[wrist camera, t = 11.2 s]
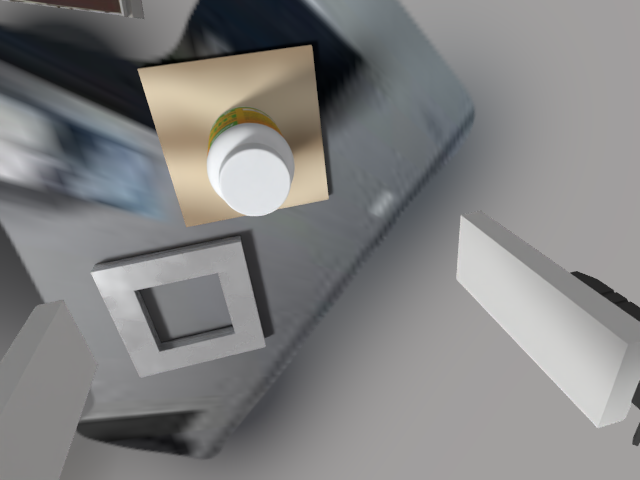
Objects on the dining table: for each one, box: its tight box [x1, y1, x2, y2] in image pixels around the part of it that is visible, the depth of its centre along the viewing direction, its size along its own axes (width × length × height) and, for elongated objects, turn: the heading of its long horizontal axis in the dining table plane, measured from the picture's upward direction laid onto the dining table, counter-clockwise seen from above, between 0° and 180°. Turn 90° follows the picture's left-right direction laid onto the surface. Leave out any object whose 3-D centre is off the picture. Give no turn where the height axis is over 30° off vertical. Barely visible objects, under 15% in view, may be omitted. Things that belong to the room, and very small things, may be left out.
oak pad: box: [138, 45, 329, 227], centre depth 31 cm, size 12×12×1 cm
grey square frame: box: [91, 235, 266, 378], centre depth 36 cm, size 12×12×1 cm
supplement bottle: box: [207, 106, 295, 216], centre depth 26 cm, size 5×5×10 cm
